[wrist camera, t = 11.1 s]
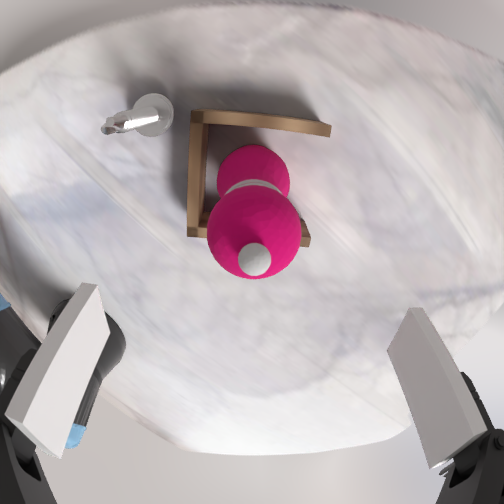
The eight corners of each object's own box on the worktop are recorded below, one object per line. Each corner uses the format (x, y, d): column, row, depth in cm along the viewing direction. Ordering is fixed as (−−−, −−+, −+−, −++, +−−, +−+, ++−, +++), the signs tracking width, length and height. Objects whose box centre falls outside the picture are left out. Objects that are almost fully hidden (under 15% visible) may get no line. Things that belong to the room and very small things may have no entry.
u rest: (194, 219, 35) (186, 236, 32) (199, 108, 29) (191, 110, 25) (302, 229, 36) (308, 247, 32) (321, 121, 29) (331, 125, 26)
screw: (139, 136, 30) (137, 96, 28) (179, 132, 30) (177, 91, 28) (82, 162, 19) (76, 101, 16) (137, 155, 19) (133, 89, 16)
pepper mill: (208, 170, 32) (157, 264, 15) (254, 127, 30) (259, 169, 13) (251, 212, 35) (251, 337, 18) (297, 173, 33) (349, 270, 15)
